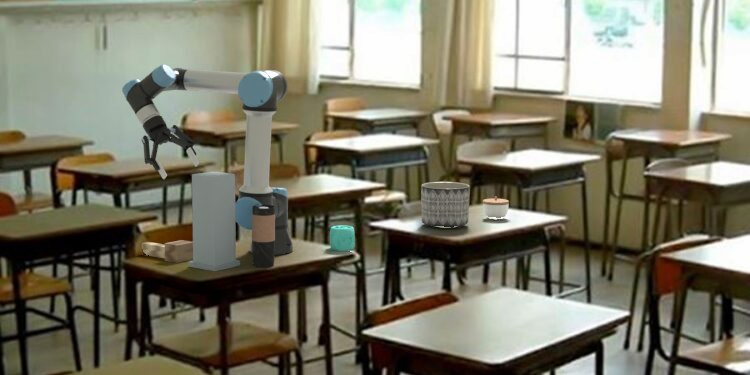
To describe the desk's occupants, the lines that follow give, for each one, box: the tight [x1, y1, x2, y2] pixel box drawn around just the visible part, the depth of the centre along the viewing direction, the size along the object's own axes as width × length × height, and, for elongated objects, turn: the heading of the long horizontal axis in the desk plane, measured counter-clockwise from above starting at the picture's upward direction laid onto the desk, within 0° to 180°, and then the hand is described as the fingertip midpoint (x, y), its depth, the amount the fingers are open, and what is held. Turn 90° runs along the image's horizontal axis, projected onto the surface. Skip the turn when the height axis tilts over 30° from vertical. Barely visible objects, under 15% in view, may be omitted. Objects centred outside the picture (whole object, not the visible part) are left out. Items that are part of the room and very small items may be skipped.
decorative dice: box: [329, 224, 356, 252], centre depth 442 cm, size 8×8×8 cm
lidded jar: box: [482, 195, 510, 218], centre depth 506 cm, size 11×11×9 cm
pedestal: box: [188, 171, 241, 272], centre depth 409 cm, size 12×12×31 cm
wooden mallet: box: [141, 239, 193, 264], centre depth 425 cm, size 20×8×6 cm, turn 53°
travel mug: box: [251, 205, 275, 268], centre depth 412 cm, size 8×8×20 cm
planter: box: [420, 181, 471, 227], centre depth 488 cm, size 19×19×16 cm
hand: (181, 171), depth 426 cm, fingers open, 13 cm apart
